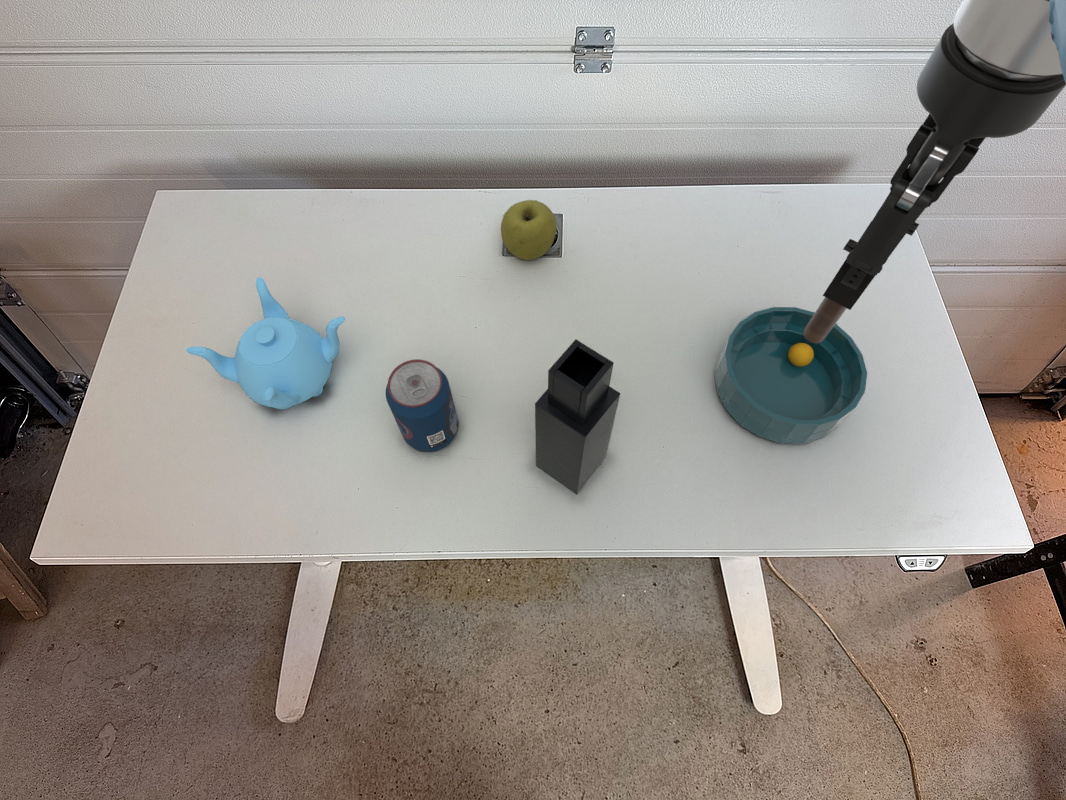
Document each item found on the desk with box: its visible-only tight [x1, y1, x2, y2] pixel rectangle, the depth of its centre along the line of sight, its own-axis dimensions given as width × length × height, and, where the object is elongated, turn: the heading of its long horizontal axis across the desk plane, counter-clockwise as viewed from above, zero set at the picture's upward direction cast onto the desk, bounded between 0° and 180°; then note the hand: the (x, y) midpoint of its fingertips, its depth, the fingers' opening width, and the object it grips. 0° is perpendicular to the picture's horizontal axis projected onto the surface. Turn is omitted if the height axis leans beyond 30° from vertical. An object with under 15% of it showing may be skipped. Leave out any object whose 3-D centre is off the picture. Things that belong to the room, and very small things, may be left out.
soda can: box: [385, 358, 460, 453], centre depth 72 cm, size 7×7×12 cm
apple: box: [500, 199, 558, 261], centre depth 88 cm, size 8×8×7 cm
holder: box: [534, 338, 621, 495], centre depth 66 cm, size 6×6×22 cm
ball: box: [788, 343, 814, 367], centre depth 80 cm, size 3×3×3 cm
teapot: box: [185, 276, 346, 410], centre depth 77 cm, size 13×13×10 cm
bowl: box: [714, 306, 868, 445], centre depth 77 cm, size 16×16×6 cm
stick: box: [803, 297, 847, 343], centre depth 58 cm, size 2×2×16 cm
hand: (845, 289), depth 58 cm, fingers closed on stick, 2 cm apart
